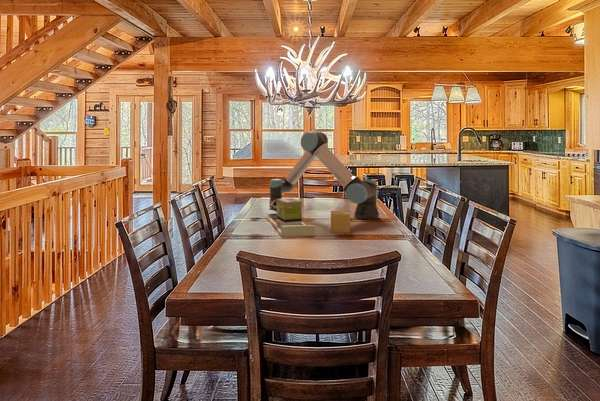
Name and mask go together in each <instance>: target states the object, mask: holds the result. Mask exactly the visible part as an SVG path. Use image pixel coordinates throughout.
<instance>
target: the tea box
mask: <svg viewBox="0 0 600 401" xmlns="http://www.w3.org/2000/svg"><path fill="white" fill-rule="evenodd" d="M302 204H303V202H302V200H301V201H300V200H298V199H297V198H296V199H295V198H292V197H288V198H287V197H286V198H282V199H276V209H277V212H276V220H277V225H278V226H279V227H281V226H295V225H302V222H303V220H302V219H303V217H302V215H303V214H302V213H303V212H302V208H303V207H302V206H303V205H302Z"/></svg>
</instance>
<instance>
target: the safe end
mask: <svg viewBox="0 0 600 401" xmlns="http://www.w3.org/2000/svg"><path fill="white" fill-rule="evenodd" d="M276 231H277V233H278V234H279V235H280V237H297V236H298V237H300V236H301V237H305V236H306V237H307V236H316V225H315V224H306V225H295V226H280V229H277V230H276Z"/></svg>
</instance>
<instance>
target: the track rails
mask: <svg viewBox="0 0 600 401" xmlns="http://www.w3.org/2000/svg"><path fill="white" fill-rule="evenodd" d="M273 220H274V219H273V218H272V217H268V218H267V221H268V222H269V223H270V225H272V227H273V228H274V229H275V230H276V231H277V229H281V227H280V225H278V224H276V223H275V222H274V221H273ZM302 225H307V224H306V223H305V222H304V221H302Z"/></svg>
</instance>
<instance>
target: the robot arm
mask: <svg viewBox="0 0 600 401" xmlns="http://www.w3.org/2000/svg"><path fill="white" fill-rule="evenodd" d="M328 143H329V140H328V137H327V135H326V133H324V132H322V131H312V130H311V131H307V132H305V133H303V134H302V136H301V137H300V146H301V148H302V149H303V150H304V151H305V152H304V153H303V155H301V157H300V158H299V159H298V161H297V162H296V163H295V165H294V166H293V167H292V169H291V170H290V171H289V172H288V173H287V175H286V176H285V178H283V180H282V179H281V178H272V179H270V180H269V181H270V182H269V203H268V204H269V211H272V212H273V211H274V212H275V213H277V209H276V199H283V194H285V193H289V192H291V191H293V190H294V187H295V184H296V183H297V182H298V181H299V179H300V178H301V177H302V176H303V174H304V173H305V172H306V171H307V169H308V168H309V167H310V166H311V164H313V162H314V160H316V158H317V159H318V160H319V161H320V162H321V163H322V164H323V165H324V167H325V168H327V170H328V171H329V172H330V173H331V174H332V175H333V177H335V179H336V180H337V181H338V182H339V183H340V184H341V186H342V190H343V191H344V192H345V196H346V198H347V200H348V201H349V202H351V203H353V204H356V208H355V211H354V213H353V218H355V219H359V220H360V219H361V220H376V219H379V218H380V212H379V210H378V206H377V194H378V190H377V189H378V188H377V187H378V184H377V181H376V180H375V179H361V178H360V177H359V176H357V175H356V176H355V175H353V174H352V172H351V171H350V170H349V169H348V168H347V167H346V166H345V165H344V163H342V162H341V161H340V159H339V158H338V157H337V156H336V154H334V153H333V151H331V149H330V148H329V144H328Z"/></svg>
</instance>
